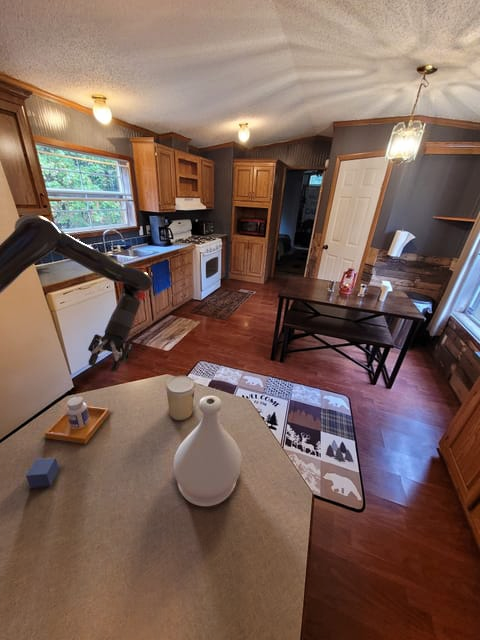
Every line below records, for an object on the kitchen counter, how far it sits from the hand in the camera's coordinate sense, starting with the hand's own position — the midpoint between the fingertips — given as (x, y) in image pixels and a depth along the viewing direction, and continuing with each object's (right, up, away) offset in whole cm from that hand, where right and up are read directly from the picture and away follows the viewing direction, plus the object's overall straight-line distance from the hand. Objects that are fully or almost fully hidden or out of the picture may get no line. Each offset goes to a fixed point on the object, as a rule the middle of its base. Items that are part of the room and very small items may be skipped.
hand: (101, 368), depth 84 cm
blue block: (-3, -24, -21) cm, 32 cm away
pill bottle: (-4, -16, -5) cm, 18 cm away
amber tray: (-4, -17, -5) cm, 18 cm away
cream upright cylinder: (+26, -16, +3) cm, 30 cm away
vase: (+38, -25, -17) cm, 49 cm away
